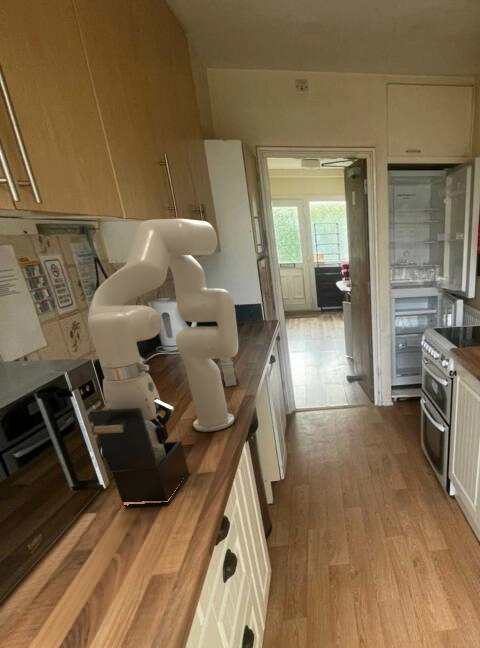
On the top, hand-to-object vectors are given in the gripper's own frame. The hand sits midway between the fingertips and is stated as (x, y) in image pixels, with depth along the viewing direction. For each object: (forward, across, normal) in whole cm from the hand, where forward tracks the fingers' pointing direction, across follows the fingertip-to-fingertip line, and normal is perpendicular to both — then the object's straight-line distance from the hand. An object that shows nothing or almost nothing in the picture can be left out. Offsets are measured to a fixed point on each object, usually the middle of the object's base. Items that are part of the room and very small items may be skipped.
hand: (144, 442), depth 99 cm
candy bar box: (+13, +3, -79) cm, 80 cm away
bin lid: (-4, 0, +7) cm, 8 cm away
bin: (+13, 0, 0) cm, 13 cm away
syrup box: (+11, 0, 0) cm, 11 cm away
